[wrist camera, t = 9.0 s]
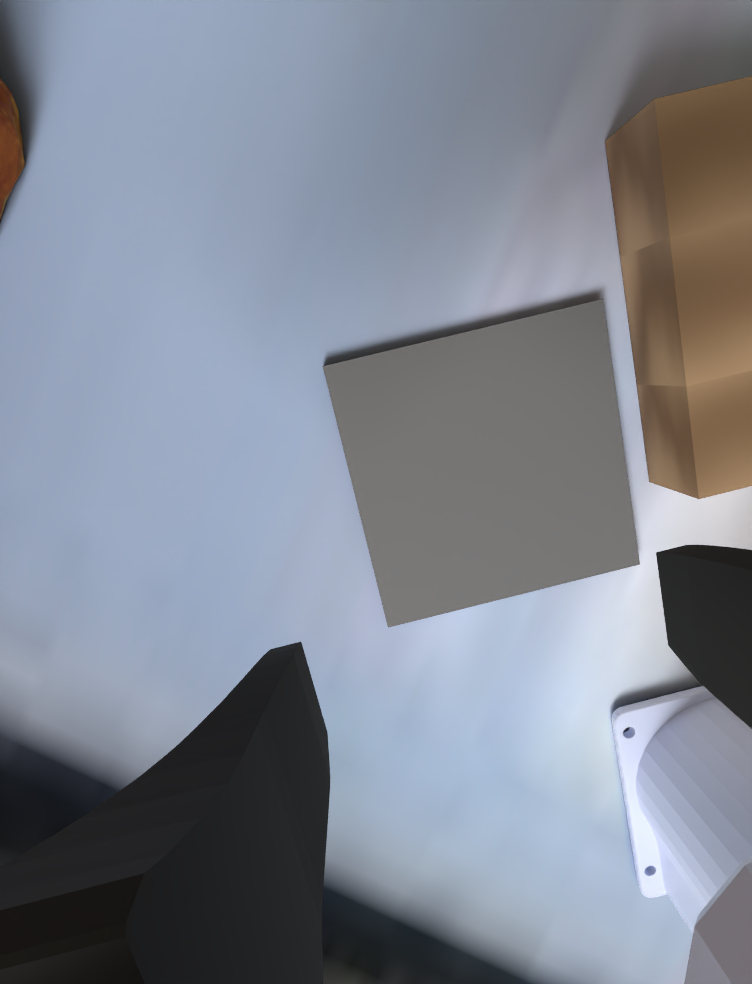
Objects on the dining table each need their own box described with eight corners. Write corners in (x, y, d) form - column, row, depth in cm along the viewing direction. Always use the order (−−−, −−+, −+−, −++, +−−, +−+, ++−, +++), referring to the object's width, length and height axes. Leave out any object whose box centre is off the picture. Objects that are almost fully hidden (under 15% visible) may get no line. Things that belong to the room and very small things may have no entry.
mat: (634, 561, 22) (639, 564, 22) (387, 622, 22) (388, 627, 22) (597, 300, 20) (603, 299, 20) (323, 366, 20) (323, 366, 19)
